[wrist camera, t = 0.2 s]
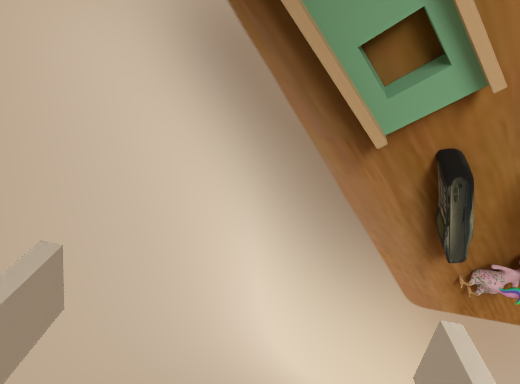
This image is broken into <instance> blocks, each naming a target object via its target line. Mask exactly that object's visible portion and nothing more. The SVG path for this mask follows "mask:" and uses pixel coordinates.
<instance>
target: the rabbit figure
mask: <svg viewBox="0 0 520 384" xmlns="http://www.w3.org/2000/svg"><path fill="white" fill-rule="evenodd" d="M519 263H520V261H519ZM491 268H493V269H500V271H493V270H485V269H477V270H475V271H474V272H473V273H472V275H471V279H470V281H469V282H468V283H466V282H464V281H463V279H462V276H461V275H460V278H459V279H460V284H461V285H462V286H463V284H465V285H466V286H467V285H468V286H469V287H468V286H467V289H468V294H470V295H471V294H474V295H477V296H479V295H480V294H482V293H485V292H487V293H490V294H497V293H501V294H503V295H505V296H507V297H511V298H519V300H518V301H517V302H516V303H515V304H519V305H520V288H518V285H519V280H520V269H518V270H513V269H510V268H507V267H504V266H499V265H491ZM510 282H512V287H511V288H509V289H503V288H504V286H505V285H506V284H507V283H510ZM473 284H477V291H476V292H472V291H471V289H470V286H471V285H473ZM462 286H461V287H462ZM470 295H469V297H470Z"/></svg>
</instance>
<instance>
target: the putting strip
mask: <svg viewBox="0 0 520 384" xmlns="http://www.w3.org/2000/svg"><path fill="white" fill-rule="evenodd" d="M281 1H282V3H283V5H284V6H285V8H286V9H287V11H288V12H289V14H290V15H291V17H292V18H293V20H294V21H295V23H296V25H297V26H298V28H299V29H300V31H301V32H302V34H303V35H304V37H305V38H306V40H307V42H308V43H309V45H310V46H311V48H312V49H313V51H314V52H315V54H316V55H317V57H318V58H319V60H320V62H321V63H322V65H323V66H324V68H325V69H326V71H327V72H328V74H329V75H330V77H331V78H332V80H333V82H334V83H335V85H336V86H337V88H338V89H339V91H340V92H341V94H342V95H343V97H344V99H345V100H346V102H347V103H348V105H349V106H350V108H351V109H352V111H353V112H354V114H355V115H356V117H357V119H358V120H359V122H360V123H361V125H362V126H363V128H364V129H365V131H366V132H367V134H368V136H369V137H370V139H371V140H372V142H373V143H374V145H375V146H376V148H377V149H379V148H381V147H383V146H385V145H387V139H386V135H387V134H389V133H392V132H394V131H396V130H398V129H400V128H402V127H404V126H406V125H408V124H410V123H412V122H414V121H416V120H418V119H420V118H422V117H424V116H426V115H428V114H430V113H432V112H434V111H436V110H438V109H441V108H443V107H445V106H447V105H449V104H451V103H453V102H455V101H457V100H459V99H461V98H463V97H465V96H467V95H469V94H471V93H473V92H475V91H477V90H479V89H481V88H483V87H485V86H489V87H490V89H491V90H492V91H493V93H496V92H498V91H500V90H502V89H504V88H507V84H506V82H505V79H504V77H503V74H502V71H501V69H500V66H499V64H498V61H497V59H496V56H495V53H494V51H493V48H492V46H491V43H490V41H489V38H488V36H487V33H486V30H485V28H484V25H483V23H482V20H481V18H480V15H479V12H478V10H477V7H476V5H475V2H474V0H281ZM422 7H423V8H424V10H425V12H426V14H427V16H428V18H429V21H430V23H431V25H432V27H433V29H434V31H435V34H436V36H437V38H438V40H439V42H440V44H441V47H442V49H443V51H444V53H445V54H443V55H441V56H439V57H437V58H436V59H434V60H432V61H430V62H428V63H427V64H425V65H423V66H421V67H419V68H418V69H416V70H414V71H412V72H410V73H408V74H407V75H405V76H403V77H401V78H399V79H398V80H396V81H394V82H392V83H390V84H389V85H387V86H385V87H384V85H383V83H382V82H381V80H380V78H379V76H378V75H377V73H376V71H375V70H374V68H373V66H372V64H371V63H370V61H369V59H368V57H367V56H366V54H365V52H364V50H363V49H362V47H361V45H362V44H364V43H366V42H367V41H369V40H370V39H372V38H374V37H375V36H377V35H379V34H380V33H382V32H383V31H385V30H387V29H388V28H390V27H391V26H393V25H395V24H396V23H398V22H399V21H401V20H403V19H404V18H406V17H407V16H409V15H411V14H412V13H414V12H416V11H417V10H419V9H420V8H422Z"/></svg>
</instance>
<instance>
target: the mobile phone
mask: <svg viewBox="0 0 520 384" xmlns="http://www.w3.org/2000/svg"><path fill="white" fill-rule="evenodd" d="M437 168H438V192H439V196H438V207H437V213H436V221H437V229H438V233H439V236H440V240H441V243H442V246H443V250H444V253H445V256H446V259H447V261H448V262H449V263H461V262H464V261H465V260H466V259H467V256H468V247H469V244H470V242H471V240H472V238H473V226H474V216H473V208H474V179H473V175H472V172H471V170H470V167H469V165H468V162H467V160H466V158H465V156H464V155H463V153H462V152H461V151H459V150H457V149H444V150H440V151H439V152H438V153H437Z"/></svg>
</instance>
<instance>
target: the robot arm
mask: <svg viewBox="0 0 520 384" xmlns="http://www.w3.org/2000/svg"><path fill="white" fill-rule="evenodd" d="M63 309H64V283H63V245H59V244H54V243H49V242H44V241H40V242H39V243H37V244H36V245H35V246H34V247H33V248H32V249H30V250H29V251H28V252H27V253H26V254H24V255H23V256H22V257H21V258H20V259H19V260H17V262H15V263H14V264H13V265H12V266H10V267H9V268H8V269H7V270H6V271H5V272H3V273H2V274H1V275H0V384H4V382H5V381H6V380H7V379H8V377H9V376H10V375H11V373H12V372H13V371H14V370H15V369H16V367H17V366H18V365H19V363H20V362H21V361H22V360H23V359H24V358H25V356H26V355H27V354H28V353H29V351H30V350H31V349H32V348H33V346H34V345H35V344H36V343H37V341H38V340H39V339H40V337H42V335H43V334H44V333H45V332H46V330H47V329H48V328H49V327H50V325H51V324H52V323H53V322H54V320H55V319H56V318H57V317H58V316H59V314H60V313H61V312H62V311H63ZM413 378H414V381H415V384H496V382H495V381H494V379H493V377H492V375H491V374H490V372H489V370H488V368H487V367H486V365H485V363H484V362H483V360H482V358H481V356H480V355H479V353H478V351H477V349H476V348H475V346H474V344H473V342H472V341H471V339H470V337H469V335H468V334H467V332H466V330H465V328H464V327H463V325H462V324H457V323H452V322H447V321H442V320H440V322H439V324H438V326H437V328H436V331H435V333H434V335H433V337H432V339H431V341H430V343H429V345H428V348H427V350H426V352H425V354H424V356H423V358H422V360H421V363H420V365H419V367H418V369H417V371H416V373H415V375H414V377H413Z"/></svg>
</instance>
